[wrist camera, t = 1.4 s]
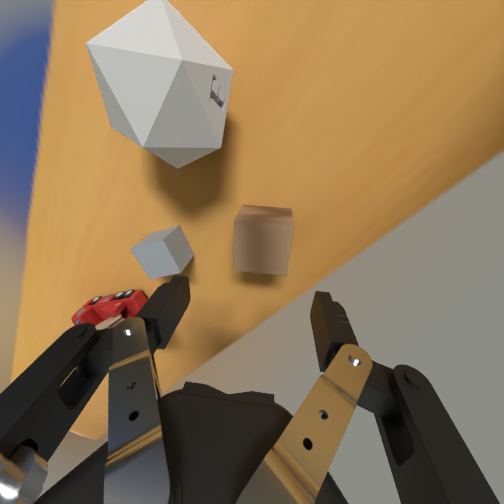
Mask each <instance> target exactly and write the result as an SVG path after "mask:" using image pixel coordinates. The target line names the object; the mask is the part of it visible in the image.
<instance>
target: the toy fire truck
mask: <svg viewBox="0 0 504 504" xmlns="http://www.w3.org/2000/svg"><path fill="white" fill-rule="evenodd" d="M147 300H148V299H147V298H146V296H145V295H144V294H143V292H142V291H141V290H136V291H134V290H129V291H128V292H126V293H125V292H124V291H122V292H120V293H118V294H117V295H110V296H105V297H101V296H99V297H96V298H95V299H91V300H90V301H88V302H87V303H86V304H85V305H83V307H82V308H80V309H79V310H78V311H77V312H76V313H75V314H74V315H73V317H72V322H73V324H74V325H75V326H76V325H79V324H82V323H92V324H94V325H95V327H96V329H97V330H101V329H108V328H115V326H116V325H117V324H118V323H120V322H121V321H123V320H125V319H128V318H131V317H134V316H135V315H136V314H137V313H138V311H139V310H140V309H141V308H142V307H143V305H144V304H145V303H146V302H147Z"/></svg>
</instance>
